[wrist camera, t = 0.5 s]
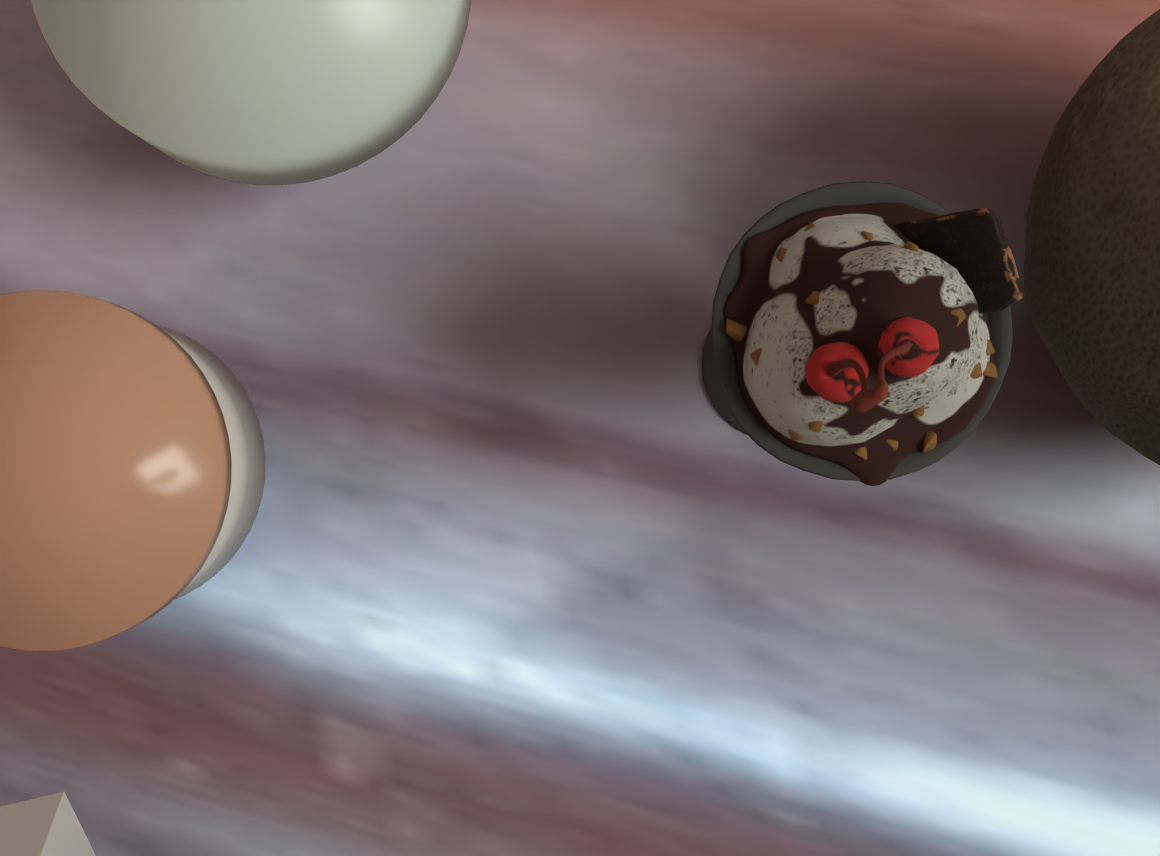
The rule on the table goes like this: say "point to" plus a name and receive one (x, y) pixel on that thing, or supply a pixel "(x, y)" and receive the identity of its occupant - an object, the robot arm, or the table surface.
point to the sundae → (862, 330)
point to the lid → (259, 76)
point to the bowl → (113, 468)
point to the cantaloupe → (1104, 242)
